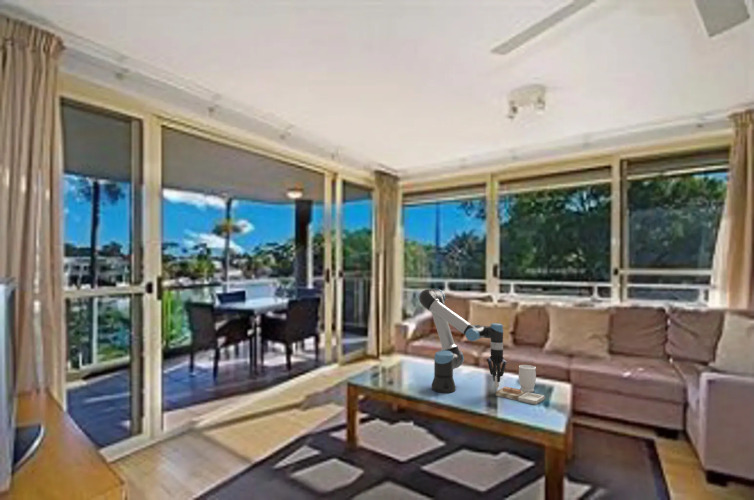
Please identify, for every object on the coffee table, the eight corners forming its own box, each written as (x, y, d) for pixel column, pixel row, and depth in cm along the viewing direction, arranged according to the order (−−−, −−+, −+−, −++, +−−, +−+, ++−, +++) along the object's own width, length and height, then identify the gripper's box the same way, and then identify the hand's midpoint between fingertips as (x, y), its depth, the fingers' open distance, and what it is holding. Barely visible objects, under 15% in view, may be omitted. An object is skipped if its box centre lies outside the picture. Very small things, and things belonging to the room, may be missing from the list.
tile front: (510, 392, 266) (510, 389, 266) (513, 391, 269) (513, 388, 269) (518, 394, 263) (518, 391, 263) (521, 392, 266) (521, 389, 266)
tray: (518, 401, 258) (518, 397, 258) (527, 395, 268) (527, 392, 269) (535, 404, 251) (535, 401, 251) (544, 399, 262) (544, 395, 262)
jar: (514, 388, 283) (515, 365, 283) (527, 387, 287) (527, 364, 287) (526, 393, 273) (526, 369, 273) (539, 391, 277) (539, 367, 277)
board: (495, 395, 268) (495, 391, 268) (504, 391, 277) (504, 387, 277) (517, 400, 259) (517, 396, 259) (525, 395, 268) (525, 391, 268)
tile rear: (502, 390, 269) (502, 387, 269) (505, 389, 273) (505, 386, 273) (509, 392, 266) (509, 389, 266) (512, 390, 270) (512, 387, 270)
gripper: (484, 348, 276) (484, 386, 275) (504, 351, 268) (504, 390, 267) (489, 346, 282) (489, 383, 281) (509, 349, 273) (509, 387, 273)
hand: (496, 386), depth 274 cm, fingers closed
